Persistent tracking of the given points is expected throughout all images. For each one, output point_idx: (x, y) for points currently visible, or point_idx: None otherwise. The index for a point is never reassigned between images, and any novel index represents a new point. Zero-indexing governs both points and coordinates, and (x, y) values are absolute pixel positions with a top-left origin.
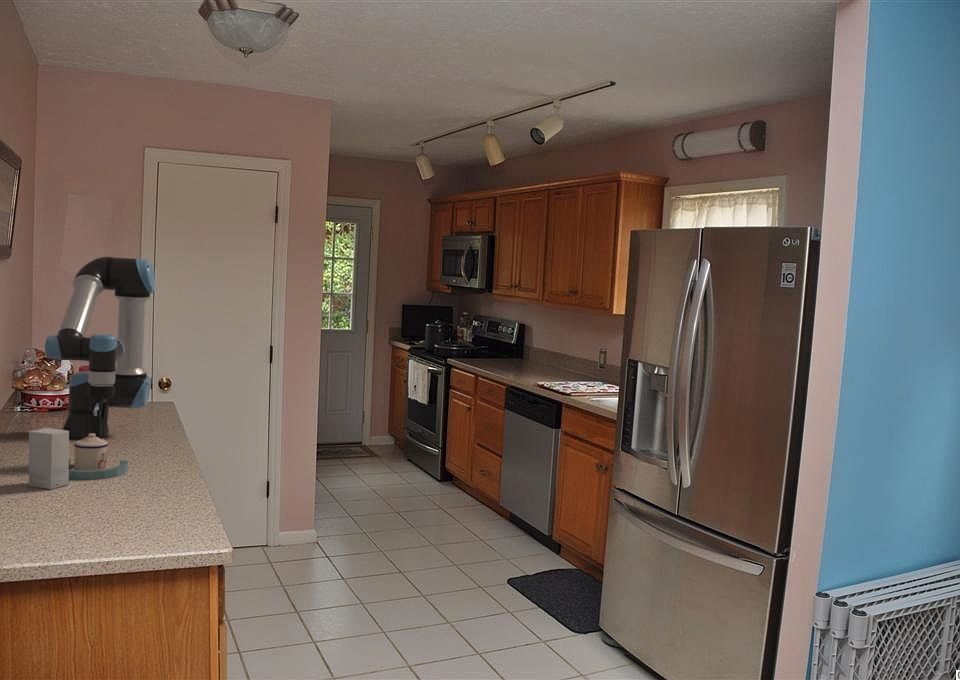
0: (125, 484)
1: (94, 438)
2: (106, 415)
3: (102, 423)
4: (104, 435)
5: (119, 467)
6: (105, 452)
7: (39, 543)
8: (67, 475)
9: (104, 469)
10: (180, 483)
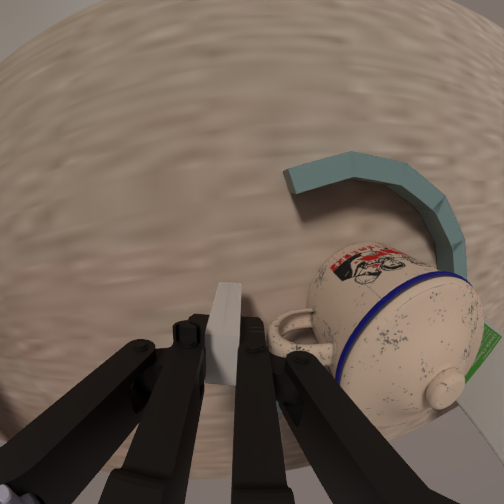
0: (490, 166)
1: (464, 358)
2: (152, 485)
3: (278, 439)
4: (189, 344)
5: (430, 186)
6: (431, 267)
7: None
8: (497, 327)
9: (452, 241)
10: (459, 30)
